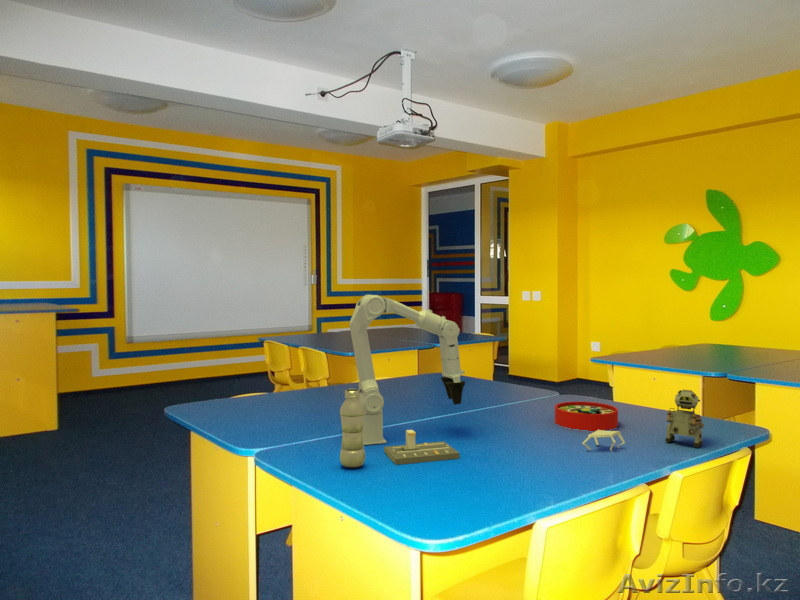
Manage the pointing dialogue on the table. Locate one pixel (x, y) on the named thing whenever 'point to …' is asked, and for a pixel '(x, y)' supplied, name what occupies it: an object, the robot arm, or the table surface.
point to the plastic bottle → (352, 430)
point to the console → (422, 453)
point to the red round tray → (586, 416)
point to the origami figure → (604, 434)
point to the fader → (410, 441)
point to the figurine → (685, 418)
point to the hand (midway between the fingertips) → (454, 401)
